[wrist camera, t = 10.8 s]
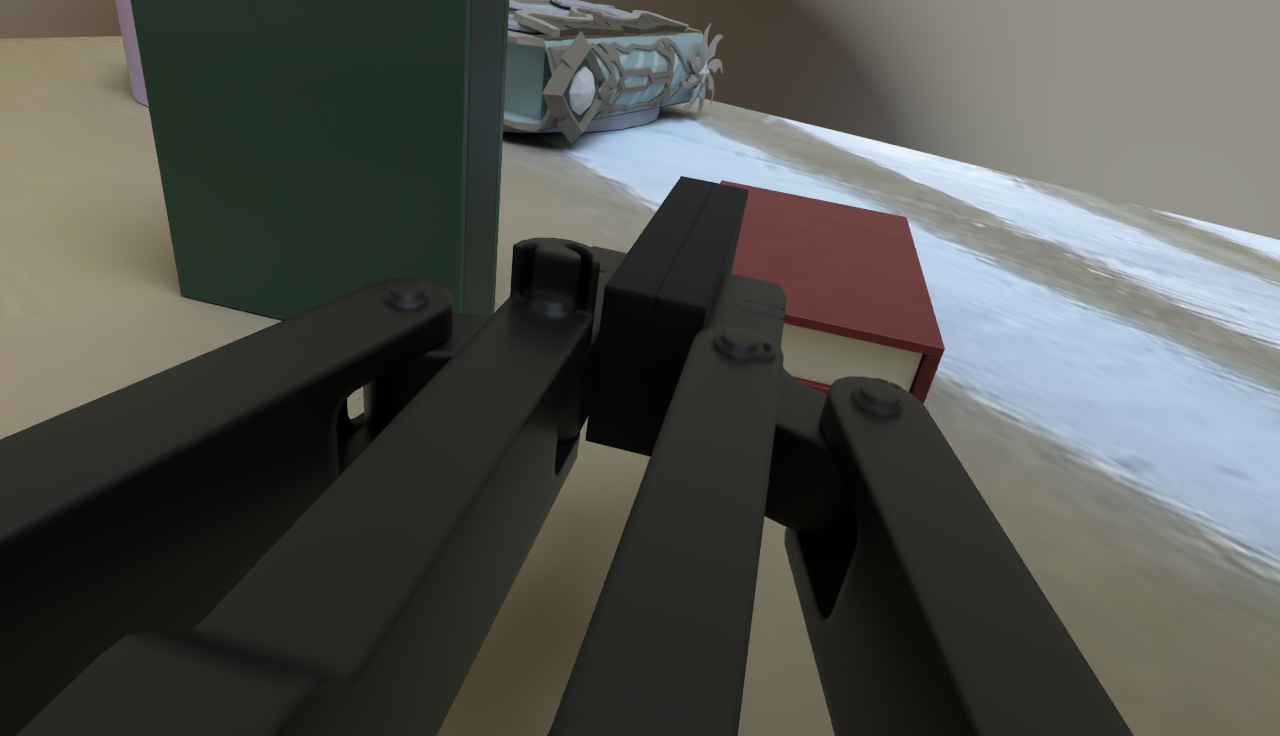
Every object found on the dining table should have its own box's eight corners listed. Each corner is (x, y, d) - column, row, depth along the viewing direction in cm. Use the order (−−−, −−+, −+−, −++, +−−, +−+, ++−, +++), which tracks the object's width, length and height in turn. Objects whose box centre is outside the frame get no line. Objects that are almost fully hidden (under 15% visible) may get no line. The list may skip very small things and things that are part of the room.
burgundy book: (945, 348, 27) (906, 217, 40) (666, 287, 28) (721, 180, 42) (918, 419, 28) (889, 269, 42) (654, 358, 29) (711, 232, 43)
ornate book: (545, 177, 51) (736, 114, 74) (554, 20, 46) (756, 5, 69) (316, 102, 60) (549, 67, 83) (302, -36, 55) (555, -33, 78)
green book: (457, 361, 27) (471, -237, 19) (180, 295, 28) (79, -290, 20) (494, 323, 30) (520, -210, 22) (241, 265, 31) (175, -258, 23)
